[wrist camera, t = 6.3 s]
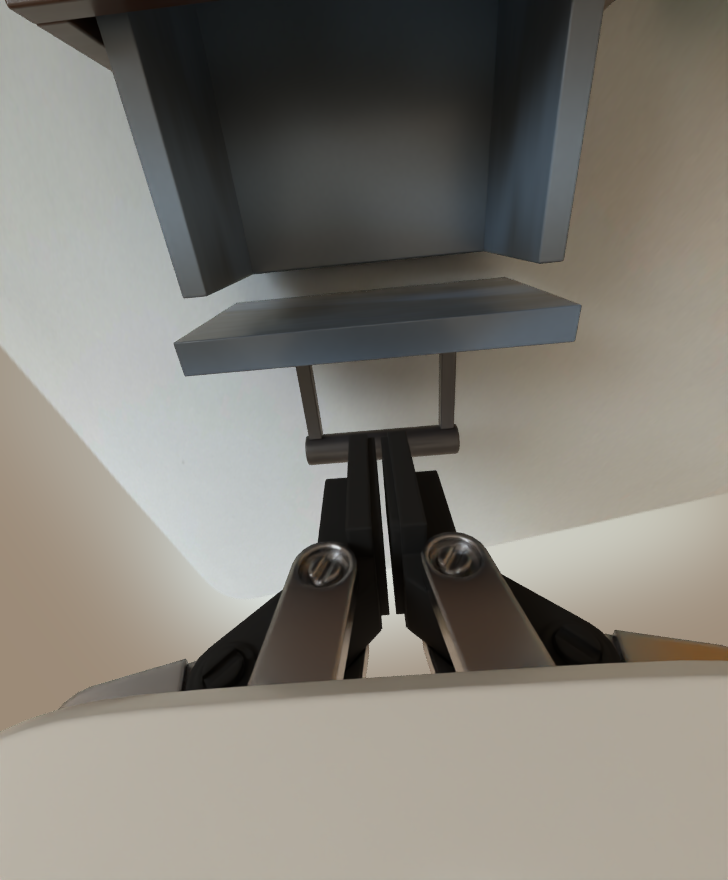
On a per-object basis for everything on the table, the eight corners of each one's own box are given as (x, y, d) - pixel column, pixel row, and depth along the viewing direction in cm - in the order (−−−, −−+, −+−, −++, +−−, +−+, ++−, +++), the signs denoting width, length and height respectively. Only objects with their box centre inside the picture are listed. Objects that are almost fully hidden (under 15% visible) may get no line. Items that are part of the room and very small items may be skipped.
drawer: (494, 405, 22) (548, 479, 15) (265, 424, 22) (228, 504, 16) (543, -132, 12) (738, -513, 6) (141, -77, 13) (-76, -375, 6)
